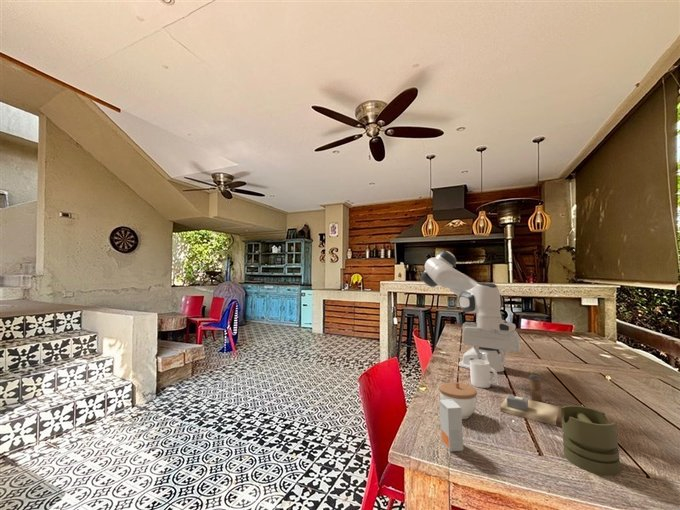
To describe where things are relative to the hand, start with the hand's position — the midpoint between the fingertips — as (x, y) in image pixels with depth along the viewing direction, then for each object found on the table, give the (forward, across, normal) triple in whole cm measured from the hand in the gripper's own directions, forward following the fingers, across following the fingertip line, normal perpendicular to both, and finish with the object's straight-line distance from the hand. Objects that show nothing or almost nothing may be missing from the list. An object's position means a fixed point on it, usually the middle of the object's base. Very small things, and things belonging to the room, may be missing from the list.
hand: (491, 359), depth 112 cm
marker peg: (+17, +12, +15) cm, 26 cm away
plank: (+17, +15, +3) cm, 23 cm away
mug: (+17, -8, +19) cm, 27 cm away
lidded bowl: (+17, -8, -16) cm, 25 cm away
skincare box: (+17, -3, -37) cm, 41 cm away
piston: (+17, +28, -21) cm, 39 cm away
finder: (+16, +8, 0) cm, 18 cm away
